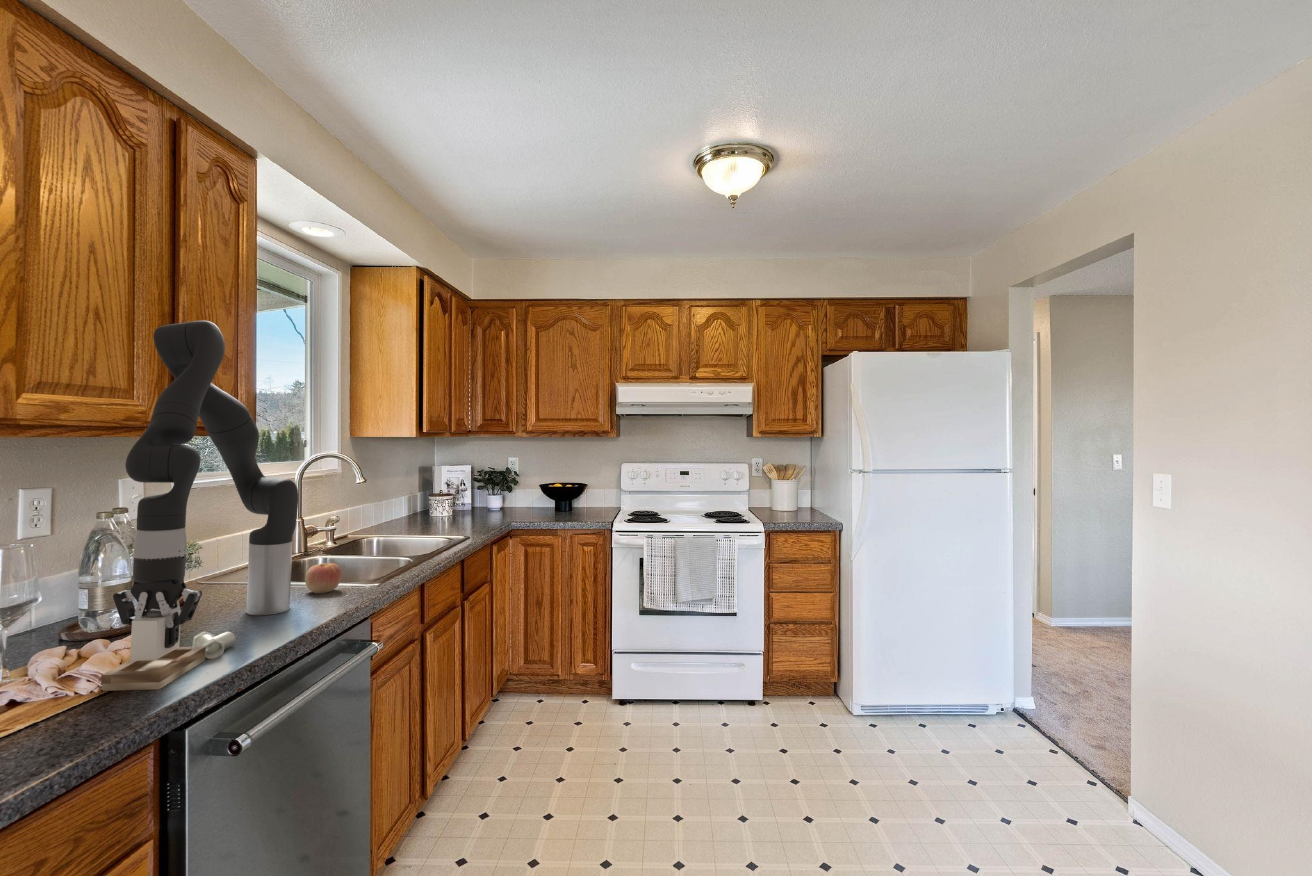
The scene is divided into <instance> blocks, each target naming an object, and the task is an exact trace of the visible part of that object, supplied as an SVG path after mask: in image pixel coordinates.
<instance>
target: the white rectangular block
mask: <svg viewBox="0 0 1312 876" xmlns="http://www.w3.org/2000/svg"><path fill="white" fill-rule="evenodd" d="M181 610H182V609H180V611H179V612H180V613H181ZM165 628H167V626H166V623H165V617H163V616H162V614H161V610H158V609H154V610H150V611H147V612H146V615H145V616H144V617H140V618H138V619H136V620H133V621H132V626H131V633H130V634H131V635H130V636H131V637H130V656H129V657H130V659H129V660H130V661H146V660H157V659H159V658H161V657H162V656H164V655H166V654H168V653H170V652H172V651H173V650H175V649H177V648H179V647H180V640H181V625H180V626H179V640H178V642H177V643H175V645H174V646H173V647H171V648H165Z"/></svg>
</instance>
